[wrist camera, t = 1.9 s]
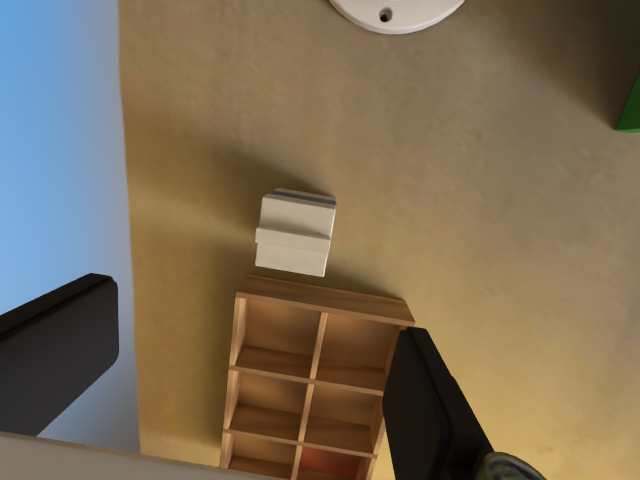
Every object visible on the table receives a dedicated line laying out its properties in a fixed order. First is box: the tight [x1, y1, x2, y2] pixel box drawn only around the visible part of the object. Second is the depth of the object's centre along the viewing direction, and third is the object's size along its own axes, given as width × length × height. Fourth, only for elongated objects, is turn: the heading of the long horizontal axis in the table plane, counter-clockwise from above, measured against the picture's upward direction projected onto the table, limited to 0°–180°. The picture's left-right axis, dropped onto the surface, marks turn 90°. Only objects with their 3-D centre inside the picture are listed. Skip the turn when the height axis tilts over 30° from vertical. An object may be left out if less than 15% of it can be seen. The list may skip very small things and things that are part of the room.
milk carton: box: [255, 188, 336, 277], centre depth 22 cm, size 5×5×6 cm
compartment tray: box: [219, 274, 415, 480], centre depth 28 cm, size 21×14×4 cm
